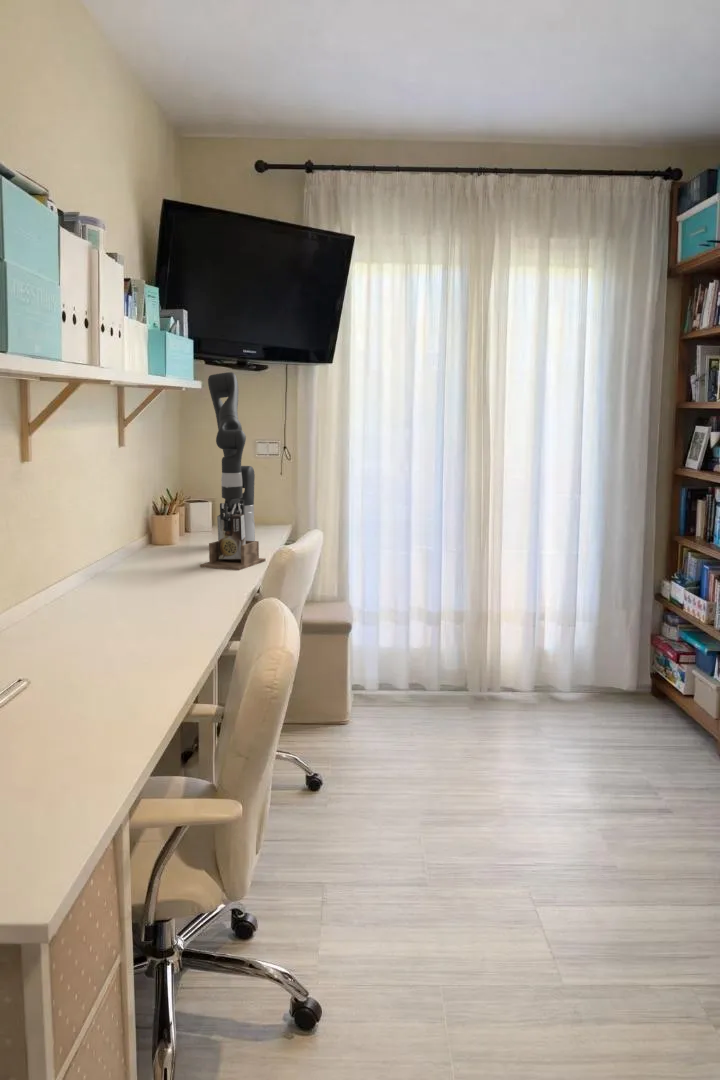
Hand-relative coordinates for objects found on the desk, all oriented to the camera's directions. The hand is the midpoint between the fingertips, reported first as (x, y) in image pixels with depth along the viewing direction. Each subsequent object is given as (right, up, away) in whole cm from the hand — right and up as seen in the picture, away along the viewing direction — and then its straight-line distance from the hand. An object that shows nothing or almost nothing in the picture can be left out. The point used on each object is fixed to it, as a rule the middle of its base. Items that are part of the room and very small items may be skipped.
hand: (232, 529), depth 329 cm
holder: (0, -13, +2) cm, 13 cm away
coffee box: (0, -11, +2) cm, 11 cm away
